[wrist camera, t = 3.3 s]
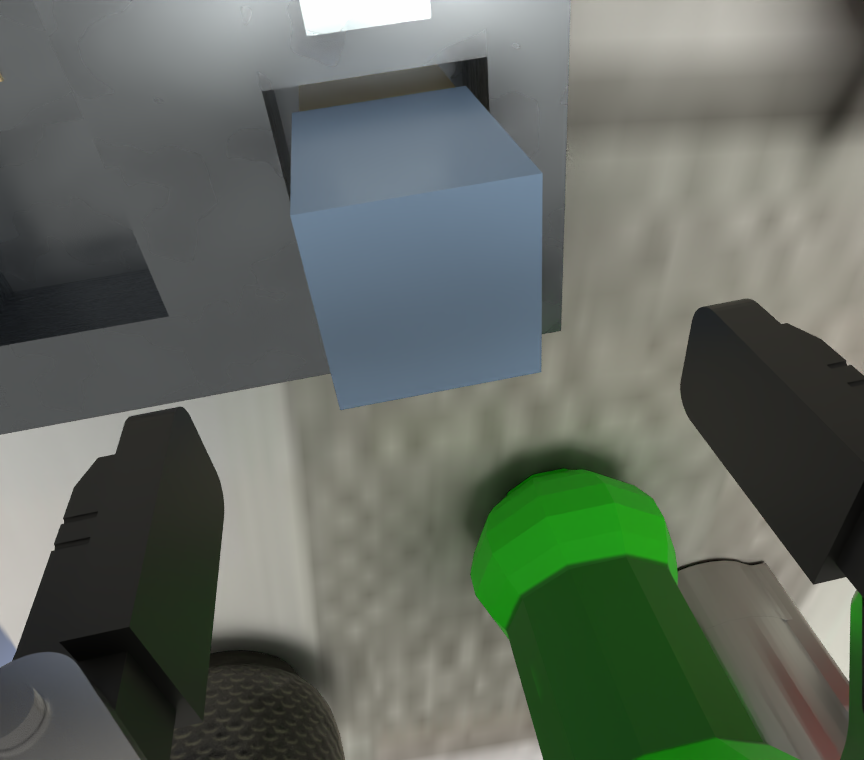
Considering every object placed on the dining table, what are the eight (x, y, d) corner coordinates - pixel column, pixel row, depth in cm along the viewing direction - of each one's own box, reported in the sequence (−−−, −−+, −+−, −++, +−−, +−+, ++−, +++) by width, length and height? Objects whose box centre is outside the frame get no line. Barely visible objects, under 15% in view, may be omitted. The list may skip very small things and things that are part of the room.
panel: (523, -112, 17) (575, -112, 14) (527, 275, 25) (561, 331, 22) (-248, -7, 16) (-385, 19, 13) (2, 369, 23) (-44, 444, 20)
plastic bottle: (521, 407, 29) (985, 1469, 9) (680, 465, 33) (1219, 1269, 14) (416, 542, 34) (582, 1441, 14) (567, 577, 38) (854, 1298, 19)
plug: (441, 58, 19) (542, 173, 11) (453, 200, 22) (541, 371, 14) (292, 80, 19) (290, 215, 11) (324, 222, 22) (340, 409, 14)
